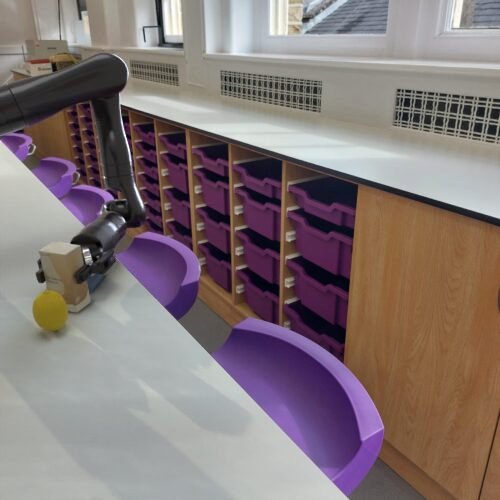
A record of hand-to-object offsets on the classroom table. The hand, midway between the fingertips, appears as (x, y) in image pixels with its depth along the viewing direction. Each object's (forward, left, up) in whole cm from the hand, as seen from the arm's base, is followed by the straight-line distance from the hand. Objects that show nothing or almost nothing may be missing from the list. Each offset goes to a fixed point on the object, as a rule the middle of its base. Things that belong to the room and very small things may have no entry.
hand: (58, 279), depth 88 cm
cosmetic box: (0, +3, -7) cm, 8 cm away
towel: (-3, +11, -7) cm, 13 cm away
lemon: (+1, -6, -7) cm, 9 cm away
